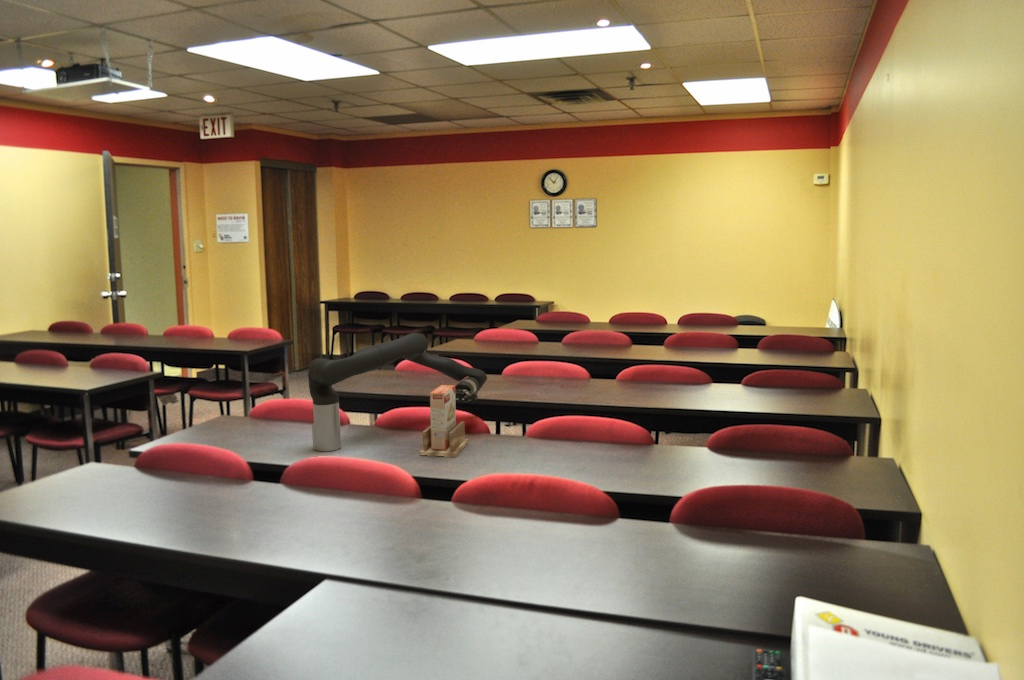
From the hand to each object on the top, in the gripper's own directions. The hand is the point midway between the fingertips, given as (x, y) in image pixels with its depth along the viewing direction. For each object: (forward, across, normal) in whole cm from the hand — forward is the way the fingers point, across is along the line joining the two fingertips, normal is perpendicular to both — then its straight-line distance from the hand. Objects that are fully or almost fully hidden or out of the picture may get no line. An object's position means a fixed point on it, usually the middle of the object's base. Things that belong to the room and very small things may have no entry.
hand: (454, 399), depth 291 cm
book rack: (+14, 0, +15) cm, 20 cm away
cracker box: (+13, 0, +14) cm, 19 cm away
